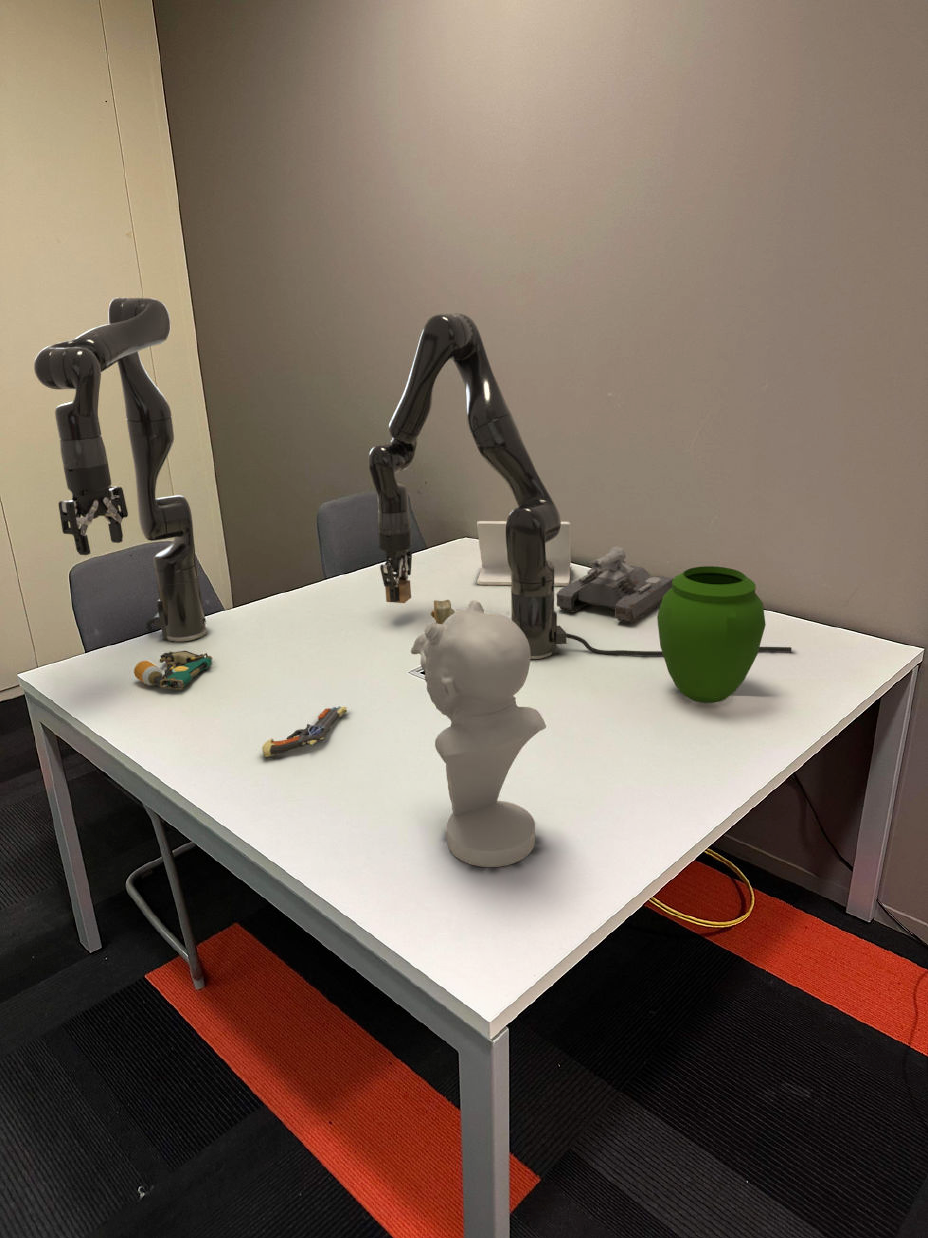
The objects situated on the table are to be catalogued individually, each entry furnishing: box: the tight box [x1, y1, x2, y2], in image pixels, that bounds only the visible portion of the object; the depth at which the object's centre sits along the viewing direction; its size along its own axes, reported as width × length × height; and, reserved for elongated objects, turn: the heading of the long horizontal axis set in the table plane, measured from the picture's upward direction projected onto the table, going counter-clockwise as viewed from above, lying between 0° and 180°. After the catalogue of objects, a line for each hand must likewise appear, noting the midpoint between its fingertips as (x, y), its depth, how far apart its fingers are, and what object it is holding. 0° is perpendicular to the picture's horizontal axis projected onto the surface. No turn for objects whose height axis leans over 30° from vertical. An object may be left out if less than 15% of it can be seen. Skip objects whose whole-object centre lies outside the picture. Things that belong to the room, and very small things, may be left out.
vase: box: [656, 565, 767, 704], centre depth 161 cm, size 20×20×24 cm
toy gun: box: [261, 705, 348, 758], centre depth 154 cm, size 3×19×10 cm
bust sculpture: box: [410, 599, 547, 868], centre depth 121 cm, size 16×24×35 cm
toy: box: [556, 546, 675, 624], centre depth 212 cm, size 25×20×15 cm
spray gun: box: [133, 650, 213, 690], centre depth 180 cm, size 4×17×15 cm
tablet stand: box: [476, 520, 572, 587], centre depth 236 cm, size 18×25×17 cm
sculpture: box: [430, 599, 456, 624], centre depth 177 cm, size 6×7×15 cm
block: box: [384, 579, 412, 604], centre depth 205 cm, size 4×5×4 cm
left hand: (101, 548), depth 161 cm, fingers open, 8 cm apart
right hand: (398, 597), depth 205 cm, fingers closed on block, 4 cm apart
